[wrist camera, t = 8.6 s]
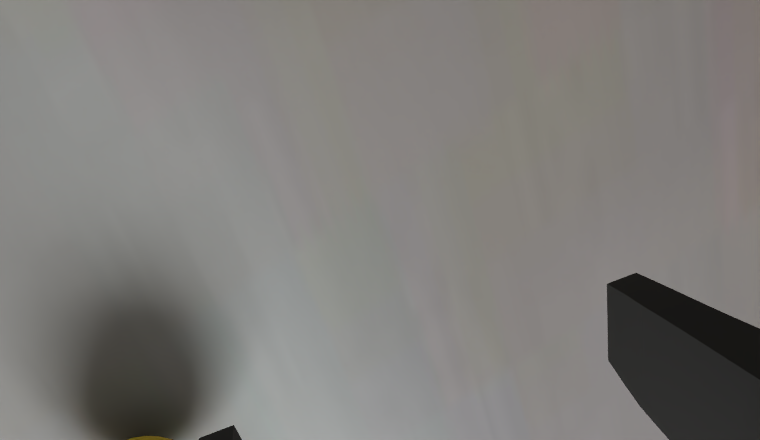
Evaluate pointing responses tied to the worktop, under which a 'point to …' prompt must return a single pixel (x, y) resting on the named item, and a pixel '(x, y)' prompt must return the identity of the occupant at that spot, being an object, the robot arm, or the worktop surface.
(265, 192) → the worktop surface
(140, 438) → the lemon
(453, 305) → the worktop surface
